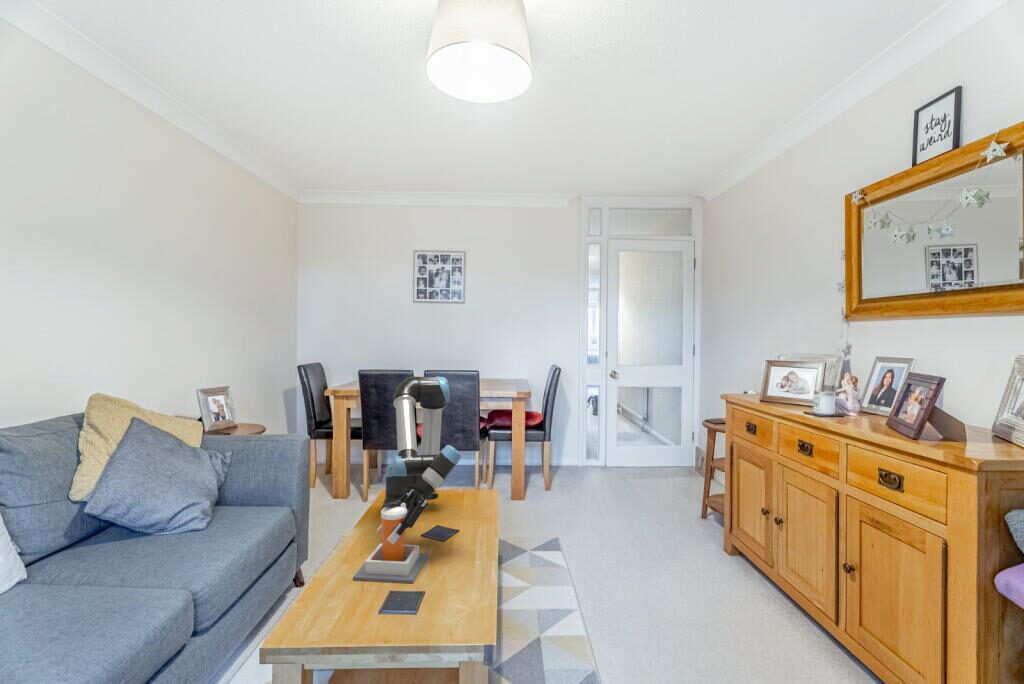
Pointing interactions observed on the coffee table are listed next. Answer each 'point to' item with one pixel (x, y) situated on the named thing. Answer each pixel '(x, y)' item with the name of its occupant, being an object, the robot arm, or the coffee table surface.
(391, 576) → the holder
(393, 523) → the shaker bottle
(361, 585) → the coffee table surface
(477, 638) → the coffee table surface
